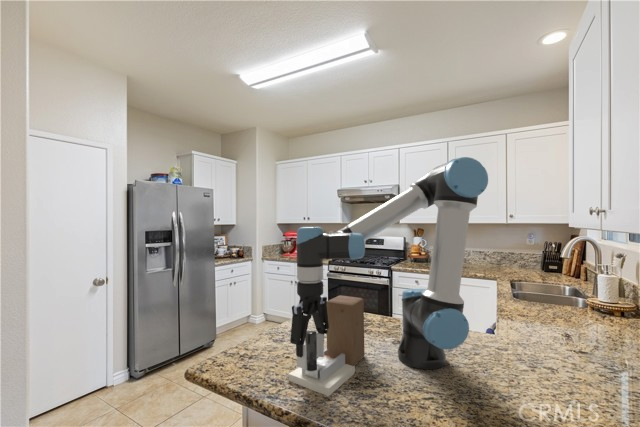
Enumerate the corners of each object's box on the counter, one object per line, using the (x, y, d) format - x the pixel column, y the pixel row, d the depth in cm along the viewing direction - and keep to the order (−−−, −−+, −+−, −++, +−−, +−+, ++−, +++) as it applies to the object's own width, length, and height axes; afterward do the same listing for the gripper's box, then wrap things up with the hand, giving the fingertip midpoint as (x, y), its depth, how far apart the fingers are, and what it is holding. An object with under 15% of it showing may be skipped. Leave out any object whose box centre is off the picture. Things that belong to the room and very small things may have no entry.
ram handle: (334, 366, 90) (334, 325, 90) (314, 381, 81) (313, 336, 82) (323, 362, 92) (322, 322, 93) (301, 377, 84) (301, 332, 84)
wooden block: (353, 369, 93) (351, 304, 93) (325, 361, 98) (324, 300, 99) (365, 356, 101) (364, 297, 102) (340, 350, 106) (339, 294, 107)
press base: (354, 373, 90) (354, 356, 90) (328, 396, 78) (328, 377, 78) (317, 361, 98) (317, 346, 98) (288, 380, 86) (288, 363, 86)
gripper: (320, 274, 95) (321, 345, 94) (275, 285, 78) (276, 373, 78) (339, 276, 91) (341, 351, 90) (297, 289, 74) (298, 381, 73)
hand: (311, 361), depth 84 cm, fingers open, 8 cm apart
